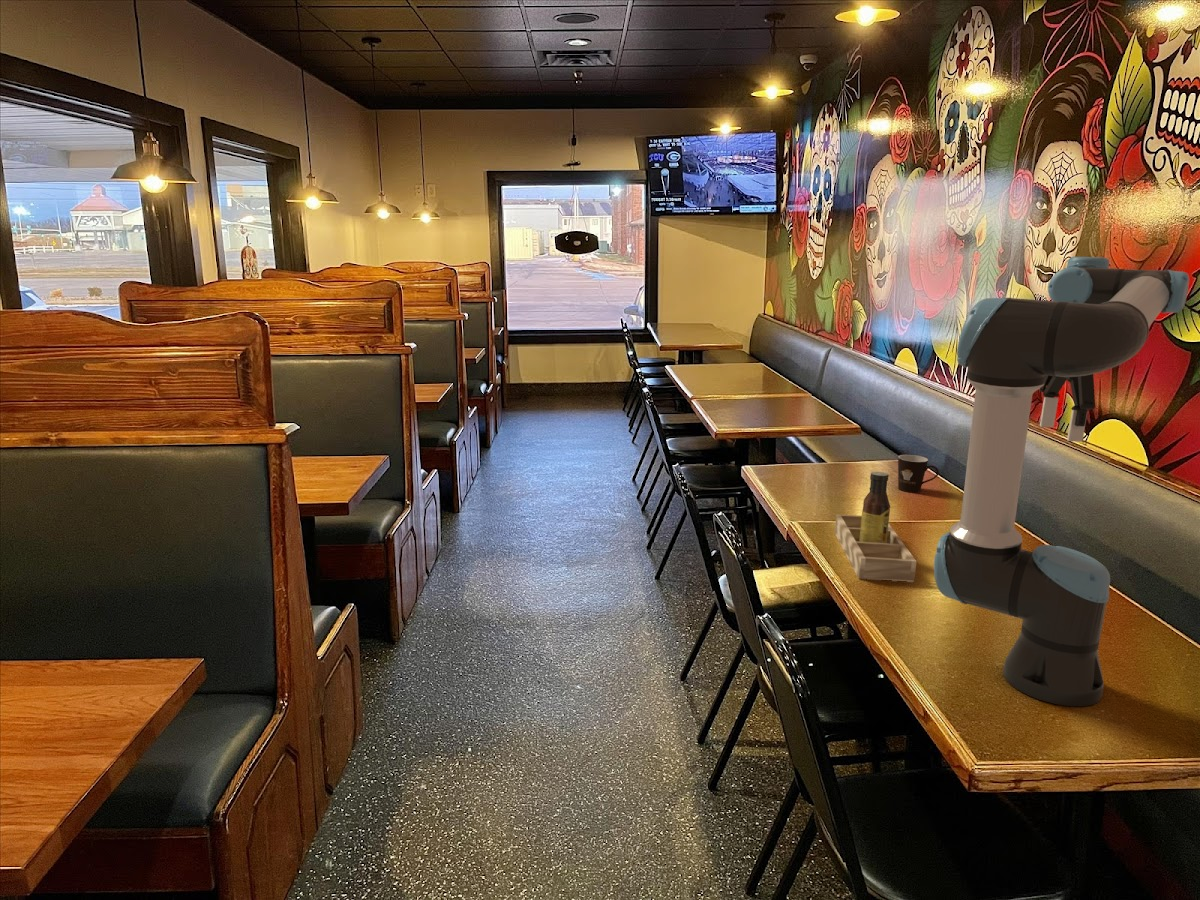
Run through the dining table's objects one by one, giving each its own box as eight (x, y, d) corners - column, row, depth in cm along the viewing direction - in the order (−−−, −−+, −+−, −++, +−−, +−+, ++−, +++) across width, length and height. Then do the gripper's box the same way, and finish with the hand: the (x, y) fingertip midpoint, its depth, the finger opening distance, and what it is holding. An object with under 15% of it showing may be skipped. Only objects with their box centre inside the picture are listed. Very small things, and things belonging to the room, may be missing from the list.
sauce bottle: (886, 559, 198) (895, 478, 194) (858, 556, 200) (867, 476, 195) (883, 549, 205) (892, 471, 200) (856, 547, 206) (865, 469, 201)
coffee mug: (888, 487, 260) (892, 456, 258) (909, 484, 264) (913, 453, 261) (916, 497, 250) (920, 465, 248) (938, 494, 254) (942, 463, 251)
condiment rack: (913, 582, 187) (916, 561, 185) (858, 579, 188) (861, 558, 186) (881, 535, 217) (884, 517, 215) (834, 532, 218) (836, 514, 216)
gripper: (1126, 341, 161) (1107, 448, 166) (1068, 328, 185) (1053, 422, 190) (1085, 339, 161) (1067, 446, 167) (1033, 326, 186) (1018, 420, 191)
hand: (1060, 433), depth 178 cm, fingers open, 13 cm apart
